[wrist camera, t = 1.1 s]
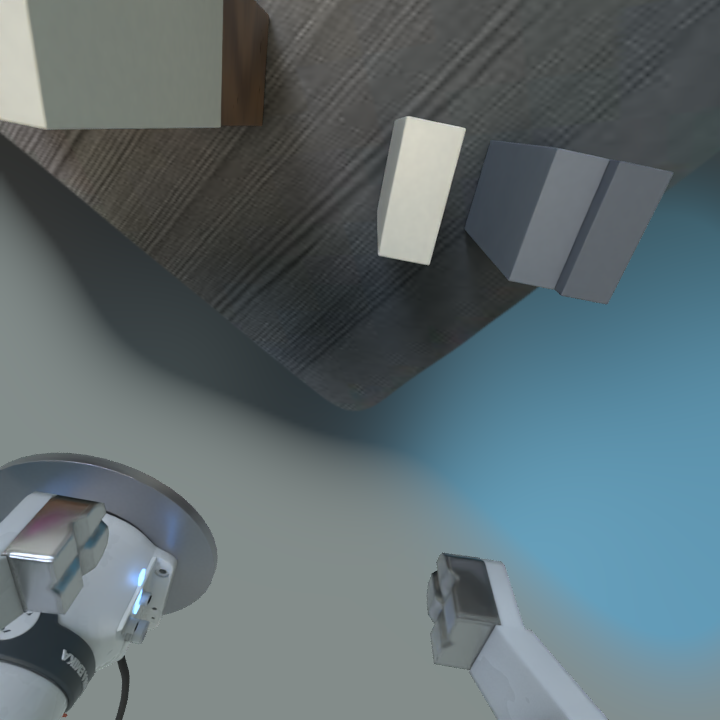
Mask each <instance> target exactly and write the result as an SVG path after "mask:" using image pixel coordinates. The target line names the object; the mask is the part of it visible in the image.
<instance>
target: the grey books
mask: <svg viewBox="0 0 720 720" xmlns="http://www.w3.org/2000/svg"><path fill="white" fill-rule="evenodd" d="M672 176H673V172H671V171H666V170H661V169H657V168H652V167H647V166H643V165H638V164H633V163H629V162H624V161H618V160H611V159H607V158H602V157H597V156H593V155H588V154H583V153H579V152H574V151H569V150H565V149H560V148H553V147H545V146H536V145H528V144H520V143H512V142H504V141H495V140H491V141H490V144H489V148H488V151H487V154H486V158H485V161H484V164H483V168H482V171H481V174H480V178H479V181H478V185H477V188H476V191H475V195H474V198H473V201H472V205H471V208H470V211H469V215H468V218H467V221H466V225H465V228H464V229H465V231H466V232H467V233H468V234H469V235H470V236H471V238H472V239H473V240H474V241H475V242H476V243H477V245H478V246H479V247H480V248H481V249H482V250H483V252H484V253H485V254H486V255H487V256H488V257H489V259H490V260H491V261H492V262H493V263H494V264H495V266H496V267H497V268H498V269H499V270H500V271H501V273H502V274H503V275H504V276H505V277H506V278H507V280H508V281H511V282H517V283H522V284H527V285H532V286H537V287H543V288H548V289H555V290H556V291H557V292H558V293H559V294H560V295H561V296H566V297H571V298H577V299H582V300H587V301H592V302H597V303H602V304H608V302H609V300H610V298H611V296H612V294H613V293H614V290H615V288H616V287H617V285H618V283H619V281H620V279H621V277H622V275H623V273H624V271H625V269H626V267H627V265H628V263H629V261H630V259H631V257H632V255H633V253H634V251H635V249H636V247H637V245H638V243H639V241H640V239H641V237H642V235H643V233H644V231H645V229H646V227H647V225H648V223H649V221H650V219H651V217H652V215H653V213H654V211H655V209H656V207H657V205H658V203H659V201H660V199H661V197H662V195H663V193H664V192H665V190H666V188H667V186H668V184H669V182H670V180H671V178H672Z"/></svg>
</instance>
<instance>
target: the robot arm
mask: <svg viewBox="0 0 720 720" xmlns="http://www.w3.org/2000/svg"><path fill="white" fill-rule="evenodd" d="M436 563H437V571H435V572H434V573H432V574H431V577H430V580H429V583H428V589H427V610H428V615H429V617H430V618H431V620H432V621H433V622H434V627H433V629H432V631H431V633H430V636H431V644H432V652H433V659H434V664H436V665H442V666H449V667H454V668H460V669H467V670H470V671H469V673H470V675H471V676H472V678H473V680H474V681H475V683H476V684H477V686H478V688H479V690H480V691H481V693H482V695H483V696H484V698H485V700H486V702H487V703H488V705H489V707H490V708H491V710H492V712H493V713H494V715H495V717H496V718H497V720H608V718H607V717H606V716H605V715H604V714H603V712H601V710H600V709H599V708H598V707H597V706H596V704H595V703H594V702H593V701H592V700H591V699H590V698H589V696H588V695H587V694H586V693H585V692H584V691H583V689H582V688H581V687H580V686H579V685H578V684H577V683H576V681H575V680H574V679H573V678H572V677H571V676H570V674H569V673H568V672H567V671H566V670H565V669H564V668H563V666H562V665H561V664H560V663H559V662H558V661H557V659H556V658H555V657H554V656H553V655H552V654H551V652H549V650H548V649H547V648H546V647H545V646H544V644H543V643H542V642H541V641H540V640H539V639H538V637H537V636H536V635H535V634H534V633H533V632H532V630H528V629H525V627H524V624H523V621H522V618H521V615H520V612H519V609H518V605H517V602H516V599H515V596H514V593H513V590H512V587H511V584H510V581H509V577H508V574H507V571H506V568H505V565H504V564H503V563H502V562H501V561H494V560H487V559H480V558H477V557H470V556H462V555H455V554H448V553H442V554H440V555H439V558H438V560H437V562H436ZM176 567H177V559H176V558H175V557H174V556H173V555H171V554H170V553H168V552H166V551H164V550H162V549H161V548H159V547H157V546H155V545H154V544H153V543H152V542H151V541H150V540H149V539H148V538H147V537H146V536H145V535H144V534H143V533H142V532H140V531H139V530H138V529H136V528H135V527H134V526H132V525H130V524H129V523H127V522H125V521H123V520H121V519H119V518H117V517H115V516H112V515H109V514H107V513H106V508H105V503H101V502H96V501H90V500H84V499H79V498H73V497H67V496H62V495H56V494H50V493H43V492H37V491H35V492H33V493H31V494H29V495H28V496H26V497H25V498H24V499H23V500H22V501H21V502H20V503H19V504H18V505H17V506H16V507H15V508H14V509H13V510H12V511H11V513H10V514H9V515H8V516H7V517H6V518H5V519H4V520H3V521H2V522H1V523H0V720H60V719H61V718H62V717H66V716H67V714H65V712H67V711H68V710H69V709H70V708H71V707H72V706H73V704H74V703H75V702H76V700H77V699H78V698H79V697H80V696H81V695H82V693H83V692H84V690H85V689H86V687H87V684H88V683H89V681H90V680H91V678H92V677H93V675H94V673H95V672H96V671H98V670H100V669H102V668H104V667H106V666H108V665H110V664H113V663H115V662H118V665H119V669H120V672H121V676H122V694H121V701H120V706H119V709H118V713H117V717H116V720H122V718H123V715H124V712H125V708H126V704H127V700H128V692H129V670H128V667H127V663H126V660H125V653H126V651H127V649H128V647H129V645H130V643H131V642H132V643H136V644H141V643H142V642H143V640H144V637H145V635H146V633H147V630H151V629H155V628H156V627H157V626H158V625H159V623H160V621H161V619H162V616H163V612H164V609H165V605H166V602H167V598H168V595H169V591H170V588H171V584H172V581H173V577H174V574H175V570H176Z"/></svg>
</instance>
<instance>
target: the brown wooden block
mask: <svg viewBox="0 0 720 720" xmlns="http://www.w3.org/2000/svg"><path fill="white" fill-rule="evenodd" d="M268 26H269V15H268V14H267V13H266V12H265V11H264V10H263V9H262V8H261V7H260V6H259V5H258V4H257V3H256V1H255V0H223V32H222V84H221V126H262V123H263V107H264V90H265V74H266V58H267V42H268Z"/></svg>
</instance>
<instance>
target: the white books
mask: <svg viewBox="0 0 720 720" xmlns="http://www.w3.org/2000/svg"><path fill="white" fill-rule="evenodd" d="M222 32H223V0H0V121H5V122H10V123H15V124H20V125H25V126H30V127H35V128H40V129H45V130H54V129H145V128H220V127H221V84H222Z"/></svg>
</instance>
